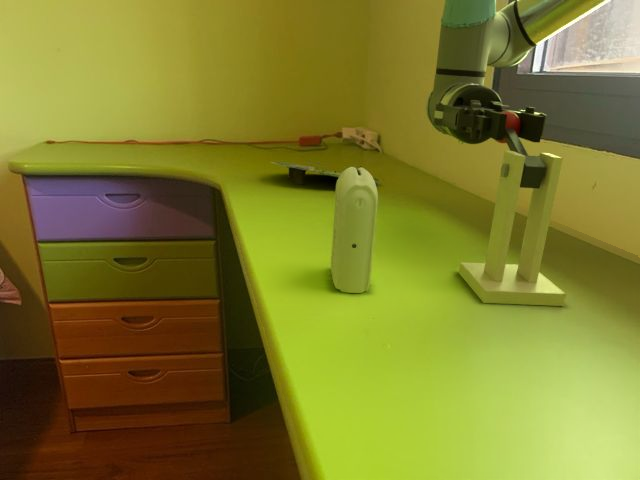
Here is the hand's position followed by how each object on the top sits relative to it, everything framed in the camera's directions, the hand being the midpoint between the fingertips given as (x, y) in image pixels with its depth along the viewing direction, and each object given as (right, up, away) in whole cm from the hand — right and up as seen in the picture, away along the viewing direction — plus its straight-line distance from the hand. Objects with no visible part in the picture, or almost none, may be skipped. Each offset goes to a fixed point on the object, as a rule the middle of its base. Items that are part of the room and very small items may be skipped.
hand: (520, 128), depth 78 cm
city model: (-22, +17, +66) cm, 72 cm away
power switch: (-1, -18, +3) cm, 18 cm away
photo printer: (-19, -17, +2) cm, 26 cm away
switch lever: (0, -3, +2) cm, 4 cm away
